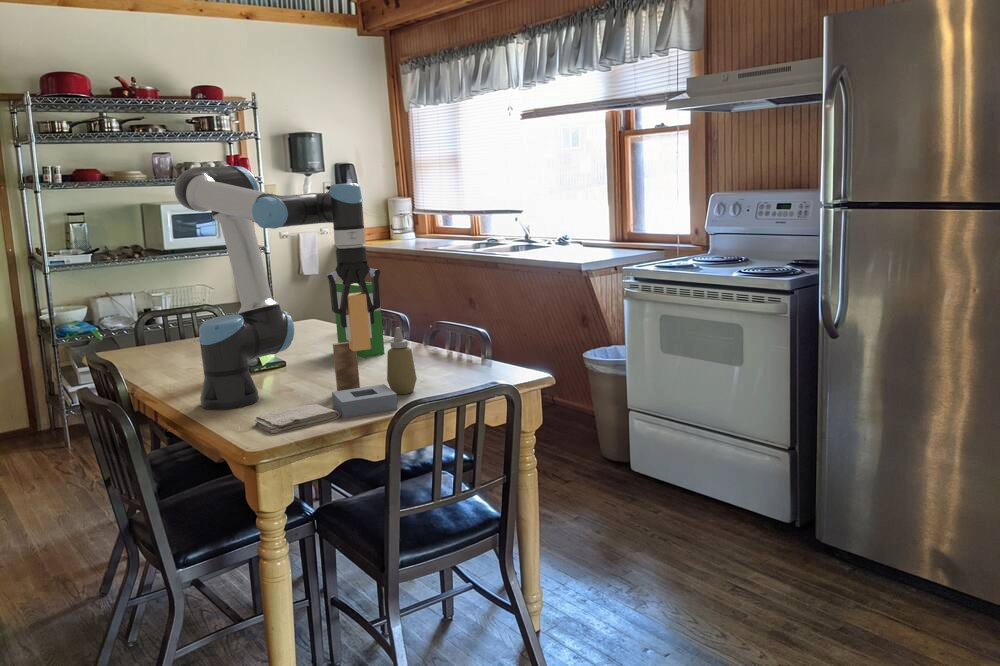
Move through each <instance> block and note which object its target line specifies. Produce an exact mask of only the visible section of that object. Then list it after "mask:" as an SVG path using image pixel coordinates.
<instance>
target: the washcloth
mask: <svg viewBox="0 0 1000 666" xmlns="http://www.w3.org/2000/svg"><path fill="white" fill-rule="evenodd" d="M340 416H341V415H340V414H339V412H338V411H337V410H336V409H335V410H334V409H331V408H327V407H325V406H323V405H320V404H318V403H313V404H307V405H303V406H296V407H292V408H287V409H284V410H280V411H275V412H274V411H273V412H269V413H265V414H260V415H257V416H256V417H255V418H254V422H255V425H256V426H258V428H260V429H262V430H265V431H266V432H268V433H270V434H278V433H283V432H289V431H292V430H296V429H301V428H306V427H309V426H313V425H318V424H322V423H325V422H331V421H334V420H337V419H338V418H340Z"/></svg>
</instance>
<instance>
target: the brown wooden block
mask: <svg viewBox="0 0 1000 666" xmlns="http://www.w3.org/2000/svg"><path fill="white" fill-rule="evenodd" d="M332 350H333V351H332V352H333V361H334V370H335V380H336V391H342V390H348V389H355V388H361V387H360V386H361V385H360V374H359V363H358V362H359V361H358V356H357V351H352V350H351V349H350V348H349V342H343V343H338V342H336V343H332Z"/></svg>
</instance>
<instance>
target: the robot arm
mask: <svg viewBox="0 0 1000 666" xmlns="http://www.w3.org/2000/svg"><path fill="white" fill-rule="evenodd" d="M174 193H175V197H176V199H177V201H178V202H179V204H180V205H182V206H183V207H185V208H186V209H187V210H191V211H195V212H199V213H200V212H202V213H203V212H208V211H210V212H211V215H212V218H213V220H215V221H216V222H218V223H219V224H220V227H221V230H222V232H221V233H222V235H223V239H224V243H225V247H226V251H227V255H228V259H229V262H230V265H231V269H232V273H233V277H234V282H235V285H236V289H237V290H236V291H237V294H238V297H239V301H240V305H241V306H240V308H239V310H238V312H237V314H235V313H233V314H225V315H220V316H217V317H213V318H212V317H211V318H210V319H207V320H205V321H204V322H202V323H201V324H200V325H199V328H198V333H199V334H198V336H199V338H198V342H199V344H200V353H201V359H202V367H203V375H204V376H203V377H204V379H203V383H202V389H201V393H200V400H199V401H200V407H201V408H202V409H206V410H215V411H216V410H217V411H218V410H231V409H238V408H243V407H247V406H249V405H253V404H254V403H257V402H258V401H259V399H260V398H259V391H258V389H257V386H256V384H255V382H254V379H253V377H252V375H251V373H250V369H249V360H254V359H257V358H261V357H267V356H270V355H275V354H276V355H277V354H278V353H281V352H283V351H286V350H287V349H288V348H289V347H290V346H291V344H292V341H293V340H294V337H295V324H294V321H293V318H292V316H291V315H289V312H287V311H285V310H282V309H281V306H280V303H279V302H277V301H276V300H275V299H274V298H273V296H272V292H271V288H270V285H269V280H268V277H267V273H266V269H265V265H264V261H263V258H262V254H261V250H260V245H259V243H258V237H257V233H256V230H255V225H254V223H256V224H257V226H258V227H260V228H262V229H272V230H273V229H274V230H275V229H278V228H279V229H280V228H285V227H294V226H296V227H297V226H306V225H316V224H317V225H318V224H328V223H329V224H330V223H331V224H333V234H334V235H333V237H334V245H335V246H336V247H337V248H336V249H335V258H336V259H335V260H336V268H335V271H332V272H330V273H326V274H325V277H326V280H327V282H328V285H329V294H330V303H331V311H332V313H334V314H335V313H337V314H340V320H341V326H342V327H343V328H345V330H346V339H347V340H348V341H351V340H352V339H351V329H350V318H349V315H348V314H346V310H347V303H348V298H347V296H348V295H349V289H350V284H354V283H358V285H359V287H360V290H361V293H363V294H366V299H367V311H368V322H369V333H370V338H372V333H371V324H374V310H376V309H378V308H380V305H381V296H380V295H381V292H380V284H379V283H380V282H379V279H380V275H381V271H380V269H377V268H371V267H370V265H369V263H368V253H367V247H366V246H364V245H365V244H366V243H367V241H366V234H365V222H364V211H363V210H364V209H363V198H362V196H363V195H362V190H361V186H360V185H359V184H358V183H355V182H353V183H337V184H331V185H330V186H329V192H318V193H317V192H311V193H310V192H309V193H301V194H289V195H288V194H287V195H279V194H273V193H269V192H265V191H261V190H260V188H259V184H258V181H257V179H256V177H255V176H254V174H253V173H252V172H251V171H249V170H248V169H247V168H246V167H244V166H237V165H235V166H234V165H227V166H226V165H225V166H224V165H223V166H203V167H202V166H197V167H192V168H188V169H186V170H184V171H183V172H181V174H180V175H179V176H178V177H177V178H176V180H175V183H174ZM368 274H369V276H370V277H371V282H372V293H373V305H372V302H371V299H370V296H369V293H368V290H367V287H366V283H365V282H366V280H365V279H366V278H367V276H368ZM338 277H339V278H340V279H341V280H342V283H343V284H342V287H343V288H342V295H341V303H340V309H339V308H338V299H337V290H336V283H337V282H336V281H337V280H338V279H337V278H338ZM335 282H336V283H335Z"/></svg>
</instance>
